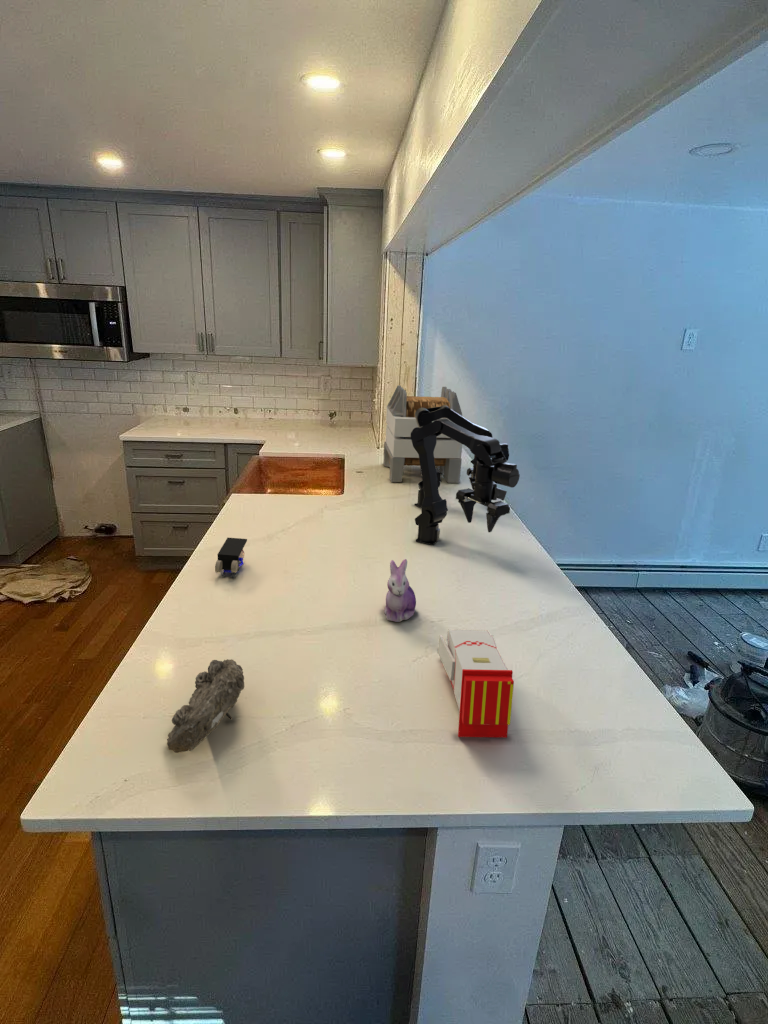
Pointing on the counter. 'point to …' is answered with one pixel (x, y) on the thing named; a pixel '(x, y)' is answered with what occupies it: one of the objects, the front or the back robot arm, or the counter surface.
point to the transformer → (399, 435)
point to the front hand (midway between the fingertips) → (479, 527)
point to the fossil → (206, 705)
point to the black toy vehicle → (230, 556)
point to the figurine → (399, 594)
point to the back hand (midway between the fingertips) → (477, 497)
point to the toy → (478, 682)
